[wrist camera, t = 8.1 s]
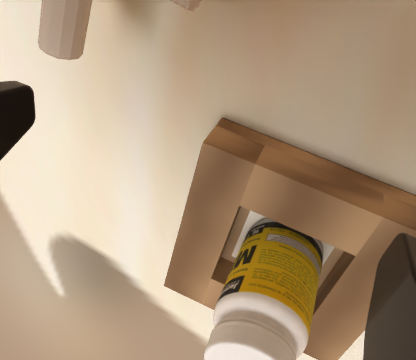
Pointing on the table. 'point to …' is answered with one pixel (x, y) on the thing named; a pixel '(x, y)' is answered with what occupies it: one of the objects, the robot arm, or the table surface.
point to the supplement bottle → (267, 296)
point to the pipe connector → (72, 26)
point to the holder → (292, 217)
